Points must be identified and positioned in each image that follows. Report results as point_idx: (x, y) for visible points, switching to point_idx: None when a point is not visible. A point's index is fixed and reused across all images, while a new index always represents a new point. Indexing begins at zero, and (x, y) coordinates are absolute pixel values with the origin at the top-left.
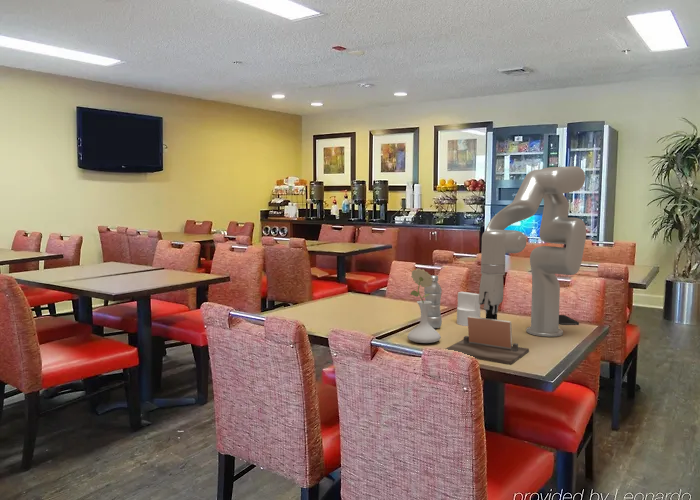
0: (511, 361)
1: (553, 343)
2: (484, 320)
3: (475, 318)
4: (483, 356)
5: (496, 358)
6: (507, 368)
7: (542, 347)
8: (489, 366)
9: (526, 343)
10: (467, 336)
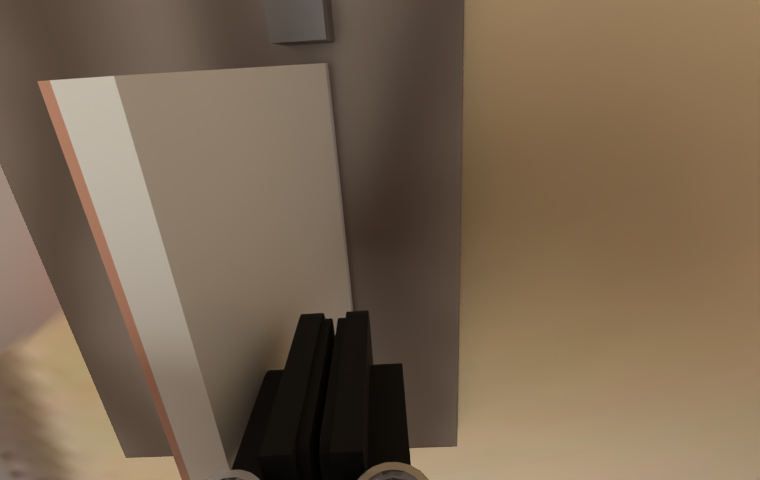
0: (132, 455)
1: (727, 468)
2: (165, 397)
3: (105, 264)
4: (72, 316)
5: (106, 387)
6: (66, 447)
7: (597, 452)
8: (9, 376)
9: (660, 362)
10: (310, 24)
